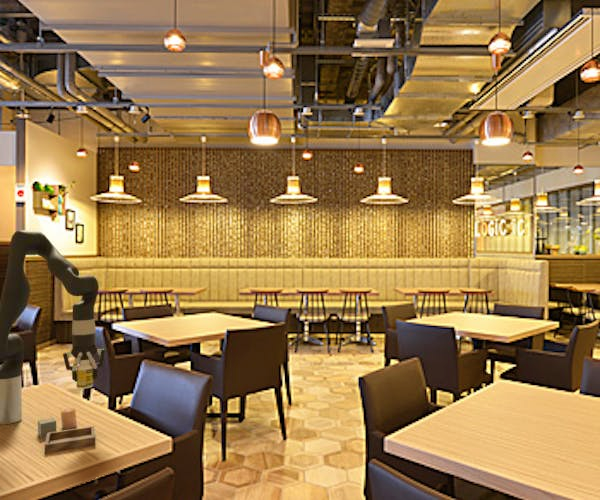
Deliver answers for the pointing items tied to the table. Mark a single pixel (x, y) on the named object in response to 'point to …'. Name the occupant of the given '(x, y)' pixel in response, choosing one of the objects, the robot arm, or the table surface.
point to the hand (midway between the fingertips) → (84, 379)
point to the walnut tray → (70, 439)
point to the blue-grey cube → (46, 426)
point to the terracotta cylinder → (68, 418)
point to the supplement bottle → (84, 374)
